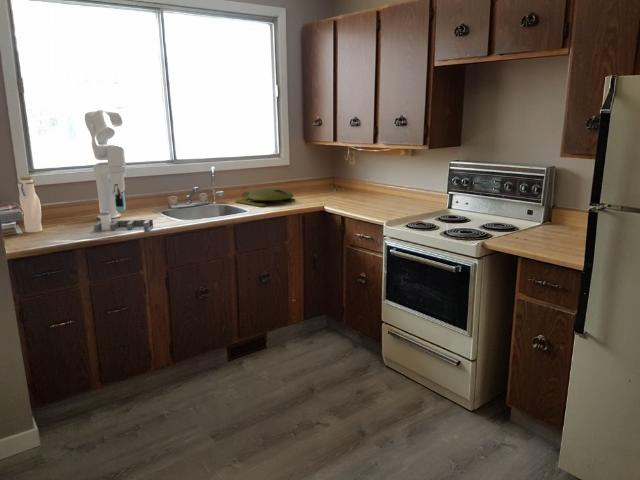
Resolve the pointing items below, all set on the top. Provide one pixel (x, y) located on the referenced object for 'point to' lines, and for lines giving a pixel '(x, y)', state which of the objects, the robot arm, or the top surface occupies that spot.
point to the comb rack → (126, 225)
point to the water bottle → (30, 205)
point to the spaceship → (265, 196)
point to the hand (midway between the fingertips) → (120, 205)
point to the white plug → (105, 220)
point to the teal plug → (123, 203)
